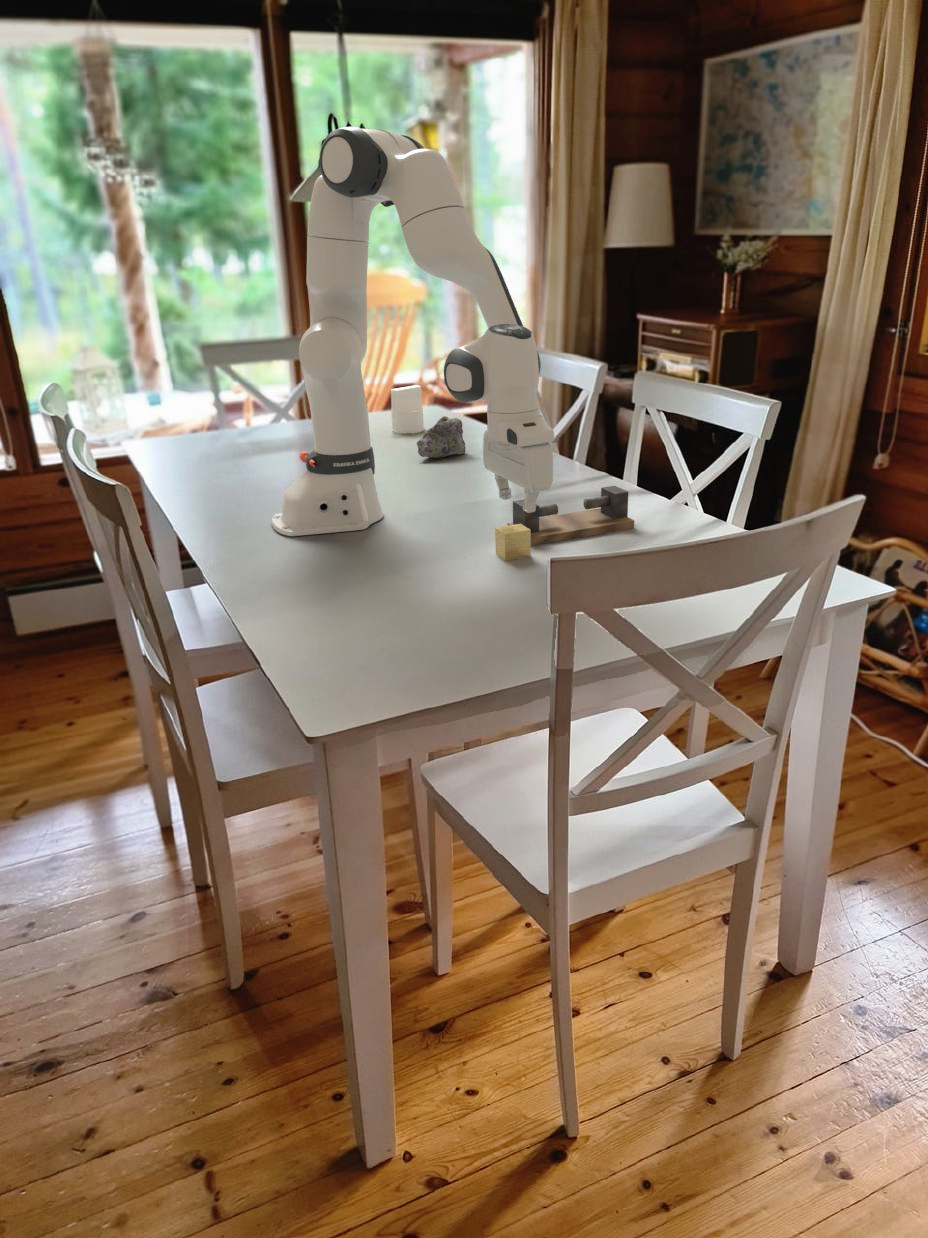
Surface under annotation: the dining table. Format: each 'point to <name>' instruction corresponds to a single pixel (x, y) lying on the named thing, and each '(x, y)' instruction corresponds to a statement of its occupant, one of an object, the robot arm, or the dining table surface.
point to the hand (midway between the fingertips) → (517, 504)
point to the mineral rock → (442, 439)
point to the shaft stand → (576, 518)
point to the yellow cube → (513, 542)
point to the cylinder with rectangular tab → (407, 409)
